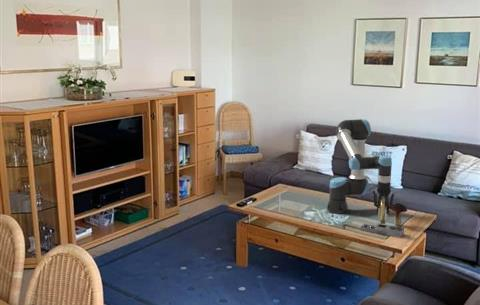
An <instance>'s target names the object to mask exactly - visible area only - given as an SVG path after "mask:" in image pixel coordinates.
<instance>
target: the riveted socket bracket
mask: <svg viewBox="0 0 480 305" xmlns="http://www.w3.org/2000/svg"><path fill="white" fill-rule="evenodd" d="M360 231H363V232H368V233H373V234H377V235H378V234H379V235H383V236H391V237H393V238H399V237H400V238H402V237H403V236H404V235H405V227H401V226H397V225H395V226H394V225H389V224H386V223H385V224H381V223H380V222H379V223H377V224H376V225H374V224H367V223H363V224H362V225H361V226H360Z"/></svg>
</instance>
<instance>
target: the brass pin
mask: <svg viewBox="0 0 480 305" xmlns="http://www.w3.org/2000/svg"><path fill="white" fill-rule="evenodd" d="M385 209H386V201H385V198H382V199H381V200H380V218H379V224H385V225H386V219H385Z"/></svg>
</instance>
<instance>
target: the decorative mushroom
mask: <svg viewBox="0 0 480 305" xmlns="http://www.w3.org/2000/svg"><path fill="white" fill-rule="evenodd" d="M389 211H393V212H395V214H394V221H393V223H394V225H395V226H396V227H400V226H401V224H402V214H401V213H405V212H408V208H407V206H406V205H404V204H402V203H400V202H397V203H393V207H392V208H391V209H389Z"/></svg>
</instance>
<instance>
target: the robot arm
mask: <svg viewBox="0 0 480 305" xmlns="http://www.w3.org/2000/svg"><path fill="white" fill-rule="evenodd" d="M371 134H372V129H371V124H370V122H369V121H368V120H367V119H360V118H359V119H345V120H342V121H340V122H339V123H338V125H337V126H336V129H335V136H336V138H337V139H338V141H340V143H341V144H342V146H343V148H344V150H345V152H346V154H347V156H348V158H349V160H348V167H349V169H350V175H349V176H348V178H347V177H341V176H339V177H335V178H334V177H333V178H332V179H331V180H330V181H329V200H328V202H327V205H326V211H327V212H328V211H329V213H332V214H337V215H338V214H339V215H340V214H347V213H348V212H349V206H348V203H347V197H354V196H358V197H359V196H365V195H366V194H367V193H368V190H369V185H370V184H369V181H368V178H366V177H367V176H365V175H364V173H365V170H378V172H377V174H378V175H377V188H376V189H373V191H372V194H373V207H376V213H378V215H377V216H378V217H377V218H378V219H380V200H381V199H383V197H384V199H385V201H386V209H385V220H387V219H388V215H389V214H390V209H391V208H392V207H393V205H394V198H395V195H396V193H395V192H392V190H391V186H392V184H391V181H392V178H391V177H392V164H393V162H392V159H393V158H392V157H391V156H387V155H382V156H380V155H373V156H366V157H365V149H366V148H365V145H366V141H367V140H368V137H370V136H371ZM389 195H390V198H389ZM389 199H390V200H389Z"/></svg>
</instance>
